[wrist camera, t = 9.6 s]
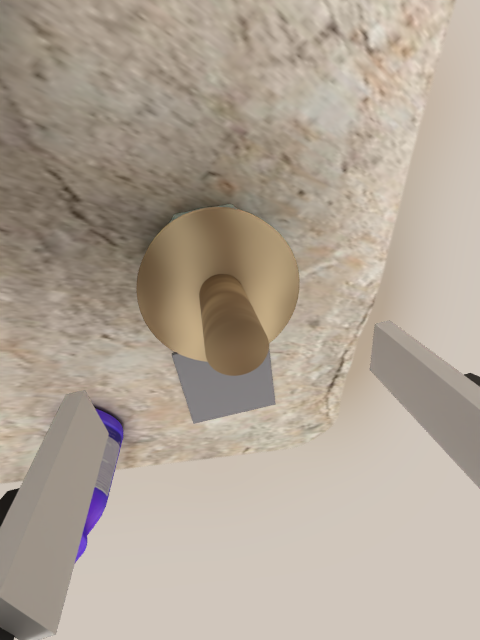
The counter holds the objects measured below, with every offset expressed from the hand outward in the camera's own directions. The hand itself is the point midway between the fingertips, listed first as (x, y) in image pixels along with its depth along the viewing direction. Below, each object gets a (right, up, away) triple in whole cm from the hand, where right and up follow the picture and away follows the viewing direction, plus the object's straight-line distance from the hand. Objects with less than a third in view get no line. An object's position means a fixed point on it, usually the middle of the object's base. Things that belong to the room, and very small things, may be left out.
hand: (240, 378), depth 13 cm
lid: (-2, +5, +11) cm, 13 cm away
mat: (-1, -5, +22) cm, 23 cm away
